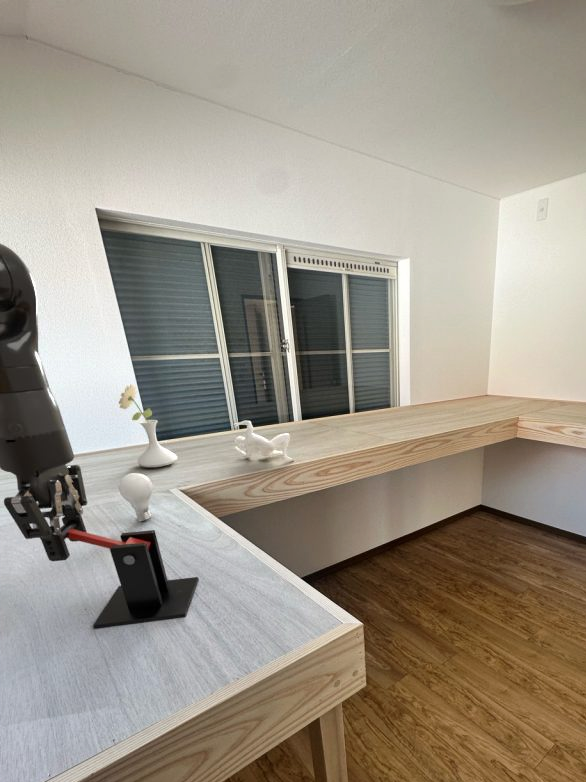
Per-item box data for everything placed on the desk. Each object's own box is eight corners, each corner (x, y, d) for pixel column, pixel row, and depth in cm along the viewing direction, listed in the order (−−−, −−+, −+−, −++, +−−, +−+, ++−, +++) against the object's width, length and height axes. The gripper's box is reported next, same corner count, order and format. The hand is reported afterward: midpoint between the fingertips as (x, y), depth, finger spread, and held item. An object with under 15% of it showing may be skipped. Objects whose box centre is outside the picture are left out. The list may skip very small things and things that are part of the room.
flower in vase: (159, 458, 138) (140, 380, 128) (186, 461, 135) (169, 381, 124) (125, 470, 127) (101, 385, 117) (153, 473, 123) (132, 386, 113)
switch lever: (47, 546, 54) (50, 531, 54) (65, 530, 59) (68, 515, 58) (139, 568, 58) (143, 554, 58) (149, 551, 63) (153, 537, 62)
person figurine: (290, 421, 139) (233, 416, 131) (298, 437, 129) (237, 433, 122) (285, 456, 146) (231, 453, 138) (292, 473, 136) (235, 471, 128)
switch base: (95, 634, 58) (69, 561, 53) (121, 593, 67) (100, 528, 62) (186, 622, 60) (169, 551, 56) (199, 584, 69) (185, 520, 65)
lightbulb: (138, 528, 89) (125, 480, 85) (122, 522, 92) (109, 475, 88) (166, 518, 94) (155, 472, 89) (150, 512, 97) (138, 467, 93)
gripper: (24, 418, 57) (64, 530, 63) (-53, 444, 44) (8, 580, 51) (86, 415, 58) (118, 525, 65) (28, 439, 45) (76, 573, 52)
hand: (70, 548), depth 58 cm, fingers closed on switch lever, 5 cm apart
